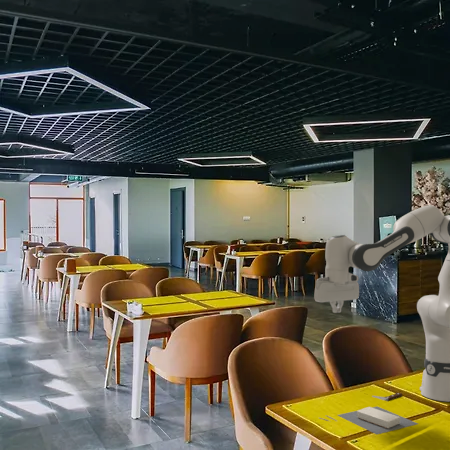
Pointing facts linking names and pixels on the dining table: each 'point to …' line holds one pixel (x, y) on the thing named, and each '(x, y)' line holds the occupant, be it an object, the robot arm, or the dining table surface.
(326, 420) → the tweezers
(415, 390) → the dining table surface
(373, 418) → the tile
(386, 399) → the kitchen cleaver
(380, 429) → the mat
